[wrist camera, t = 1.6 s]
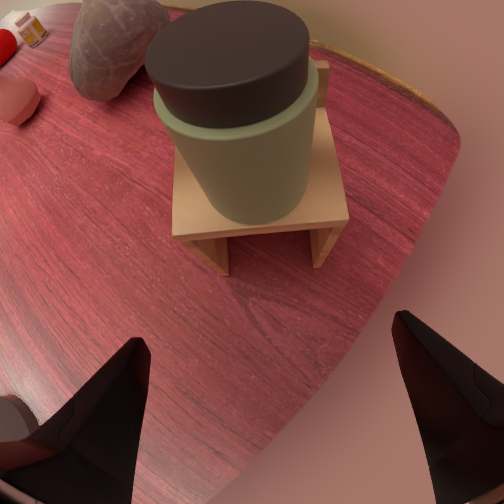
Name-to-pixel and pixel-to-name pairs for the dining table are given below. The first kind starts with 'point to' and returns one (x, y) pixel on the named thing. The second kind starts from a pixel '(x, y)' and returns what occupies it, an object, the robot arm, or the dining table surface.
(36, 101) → the pink bud vase
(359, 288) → the dining table surface
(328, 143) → the miniature wooden chair
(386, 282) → the dining table surface
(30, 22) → the supplement bottle
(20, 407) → the trivet
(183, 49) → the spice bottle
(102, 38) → the decorative stone
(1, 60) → the tomato
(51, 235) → the dining table surface
